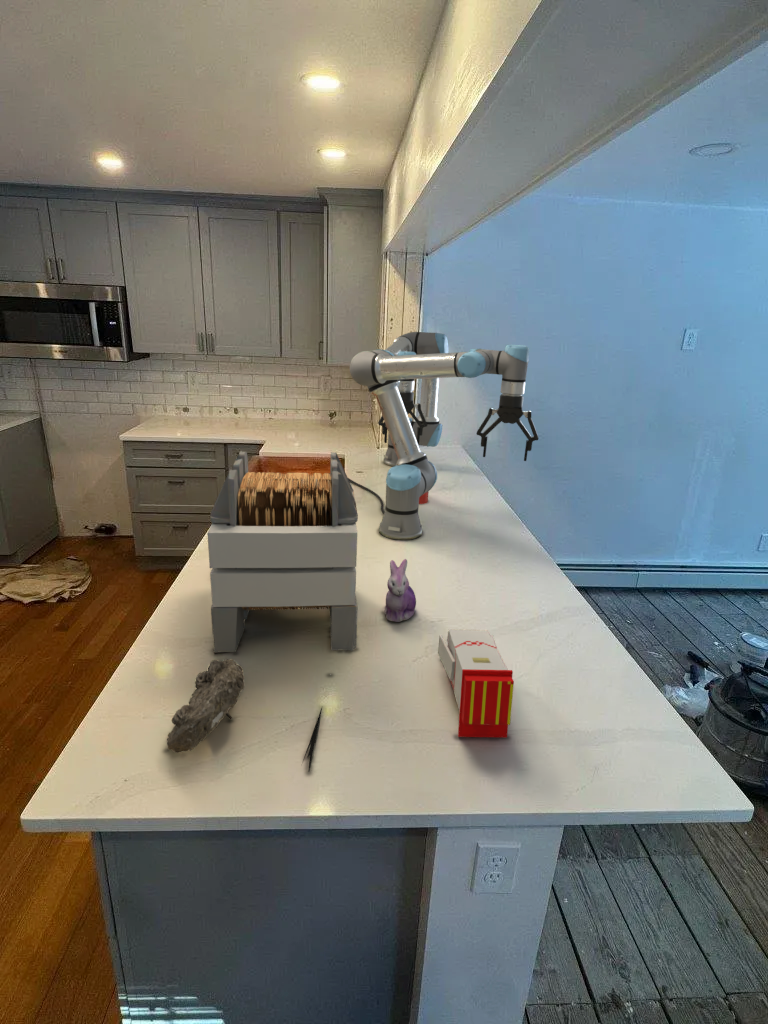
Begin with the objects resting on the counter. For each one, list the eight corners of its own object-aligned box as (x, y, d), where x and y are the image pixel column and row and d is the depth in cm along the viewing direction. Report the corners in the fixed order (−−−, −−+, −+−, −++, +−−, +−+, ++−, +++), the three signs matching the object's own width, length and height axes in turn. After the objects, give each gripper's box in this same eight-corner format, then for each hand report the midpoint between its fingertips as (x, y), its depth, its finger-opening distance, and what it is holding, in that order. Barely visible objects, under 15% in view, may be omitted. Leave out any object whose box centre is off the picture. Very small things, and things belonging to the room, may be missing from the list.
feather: (331, 679, 122) (336, 673, 122) (307, 777, 96) (313, 769, 95) (324, 675, 122) (329, 669, 121) (298, 772, 95) (304, 764, 95)
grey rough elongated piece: (192, 660, 117) (244, 628, 112) (224, 691, 120) (276, 661, 115) (142, 746, 98) (202, 712, 93) (182, 779, 101) (242, 748, 96)
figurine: (392, 627, 141) (395, 572, 136) (374, 608, 149) (376, 556, 144) (425, 619, 145) (429, 566, 140) (405, 601, 154) (408, 550, 149)
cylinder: (420, 505, 230) (422, 475, 225) (404, 501, 234) (406, 471, 230) (431, 501, 236) (433, 471, 231) (415, 496, 240) (417, 467, 236)
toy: (488, 613, 130) (523, 677, 101) (484, 667, 133) (517, 744, 104) (435, 612, 130) (455, 676, 101) (432, 666, 133) (451, 743, 103)
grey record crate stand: (232, 584, 158) (225, 442, 144) (349, 583, 162) (353, 444, 148) (211, 655, 127) (198, 480, 113) (357, 651, 130) (362, 482, 117)
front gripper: (551, 395, 185) (542, 459, 192) (474, 390, 190) (468, 452, 197) (552, 399, 178) (542, 464, 185) (472, 393, 183) (466, 457, 190)
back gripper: (374, 391, 224) (372, 443, 231) (436, 393, 227) (432, 445, 234) (373, 388, 231) (371, 440, 238) (433, 391, 234) (429, 441, 241)
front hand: (504, 458), depth 191 cm, fingers open, 13 cm apart
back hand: (401, 442), depth 236 cm, fingers open, 13 cm apart
